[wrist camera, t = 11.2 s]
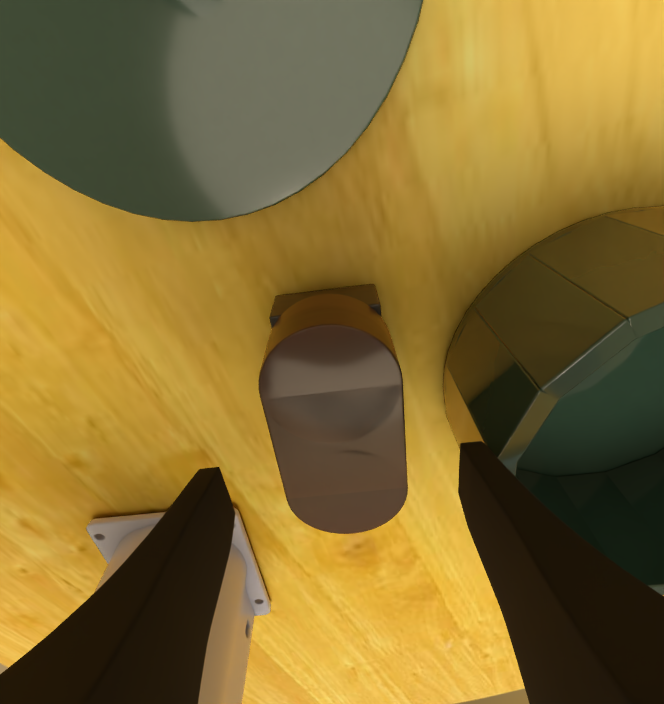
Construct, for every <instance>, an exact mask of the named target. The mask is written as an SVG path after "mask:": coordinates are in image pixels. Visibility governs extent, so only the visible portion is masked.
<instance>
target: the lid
mask: <svg viewBox="0 0 664 704" xmlns="http://www.w3.org/2000/svg"><path fill="white" fill-rule="evenodd" d="M422 4H423V0H0V138H1V139H2V140H3V141H4V142H6V143H7V144H8V145H9V146H10V147H11V148H12V149H13V150H15V151H16V152H17V153H19V154H20V155H21V156H23V157H24V158H26V159H27V160H28V161H30V162H31V163H32V164H34V165H35V166H36V167H38V168H39V169H41V170H42V171H43V172H45V173H46V174H48V175H50V176H51V177H53V178H55V179H56V180H58V181H60V182H62V183H63V184H65V185H67V186H68V187H70V188H72V189H73V190H75V191H77V192H79V193H82V194H84V195H86V196H88V197H90V198H93V199H95V200H97V201H99V202H101V203H103V204H106V205H109V206H112V207H115V208H118V209H121V210H124V211H127V212H130V213H133V214H137V215H142V216H147V217H152V218H157V219H162V220H173V221H187V222H199V221H215V220H224V219H229V218H233V217H238V216H243V215H248V214H251V213H254V212H256V211H259V210H262V209H265V208H268V207H270V206H273V205H276V204H277V203H279V202H281V201H283V200H285V199H287V198H289V197H291V196H293V195H295V194H296V193H298V192H300V191H302V190H303V189H304V188H306V187H307V186H308V185H310V184H311V183H313V182H314V181H315V180H317V179H318V178H320V177H321V176H322V175H324V174H325V173H326V172H327V171H328V170H329V169H330V168H331V167H332V166H333V165H334V164H335V163H337V162H338V161H339V160H340V159H341V158H342V157H343V156H344V155H345V154H346V153H347V152H348V151H349V149H350V148H351V147H352V146H353V145H354V143H355V142H356V141H357V140H358V138H359V137H360V136H361V135H362V134H363V132H364V131H365V130H366V129H367V127H368V126H369V124H370V123H371V121H372V120H373V118H374V117H375V115H376V113H377V112H378V110H379V109H380V107H381V105H382V104H383V102H384V101H385V99H386V98H387V96H388V94H389V92H390V90H391V88H392V85H393V83H394V81H395V79H396V77H397V75H398V73H399V71H400V69H401V67H402V65H403V63H404V60H405V58H406V55H407V52H408V49H409V46H410V43H411V41H412V38H413V35H414V32H415V29H416V27H417V24H418V21H419V17H420V13H421V8H422Z"/></svg>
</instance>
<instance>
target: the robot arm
mask: <svg viewBox="0 0 664 704" xmlns="http://www.w3.org/2000/svg"><path fill="white" fill-rule="evenodd" d="M458 493H459V496H460V500H461V504H462V508H463V511H464V515H465V518H466V522H467V525H468V528H469V531H470V533H471V536H472V538H473V541H474V543H475V546H476V548H477V551H478V553H479V556H480V558H481V561H482V563H483V566H484V568H485V571H486V573H487V576H488V578H489V581H490V583H491V586H492V588H493V591H494V593H495V596H496V598H497V600H498V603H499V606H500V608H501V611H502V614H503V617H504V620H505V623H506V626H507V629H508V632H509V636H510V639H511V642H512V645H513V649H514V652H515V655H516V659H517V662H518V665H519V669H520V672H521V676H522V679H523V683H524V686H525V689H526V693H527V696H528V700H529V703H530V704H664V596H662V595H661V594H659V593H658V592H657V591H655V590H654V589H652V588H651V587H649V586H648V585H646V584H645V583H643V582H642V581H640V580H639V579H637V578H636V577H634V576H633V575H631V574H630V573H628V572H627V571H625V570H624V569H623V568H621V567H620V566H619V565H617V564H616V563H615V562H613V561H612V560H610V559H609V558H608V557H606V556H605V555H604V554H602V553H601V552H600V551H599V550H597V549H596V548H595V547H593V546H592V545H591V544H590V543H588V542H587V541H586V540H584V539H583V538H582V537H581V536H580V535H578V534H577V533H576V532H575V531H574V530H572V529H571V528H570V527H569V526H568V525H566V524H565V523H564V522H563V521H562V520H561V519H560V518H558V517H557V516H556V515H555V514H554V513H553V512H552V511H551V510H549V509H548V508H547V507H546V506H545V505H544V504H543V503H542V502H541V501H540V500H539V499H538V498H537V497H536V496H535V495H534V494H533V493H532V492H530V491H529V490H528V489H527V488H526V487H525V486H524V485H523V484H522V483H521V482H520V481H519V480H518V479H517V478H516V477H515V476H514V475H513V474H512V473H511V471H510V470H509V469H508V468H507V467H506V466H505V465H504V464H503V463H502V462H501V461H500V460H499V459H498V458H497V457H496V455H495V454H494V453H493V452H492V451H491V450H490V449H489V448H488V447H487V445H486V444H485V443H483V442H482V441H476V442H466V443H460V463H459V488H458ZM86 529H87V532H88V533H89V535H90V536H91V538H92V540H93V541H94V543H95V544H96V546H97V547H98V549H99V550H100V552H101V554H102V555H103V557H104V558H105V560H106V561H107V563H108V566H107V568H106V570H105V572H104V574H103V576H102V578H101V580H100V582H99V584H98V586H97V588H96V590H95V592H94V594H93V595H92V596H91V597H90V598H89V599H88V600H87V601H86V602H84V603H83V604H82V605H81V606H80V607H79V608H78V609H77V610H76V611H75V612H73V613H72V614H71V615H70V616H69V617H68V618H67V619H66V620H65V621H64V622H62V623H61V624H60V625H59V626H58V627H57V628H56V629H55V630H54V631H53V632H51V633H50V634H49V635H48V636H47V637H46V638H44V639H43V640H42V641H41V642H40V643H38V644H37V645H36V646H35V647H34V648H33V649H31V650H30V651H29V652H28V653H26V654H25V655H24V656H23V657H22V658H20V659H19V660H18V661H17V662H15V663H14V664H13V665H12V666H10V667H9V668H8V669H7V670H5V671H4V672H3V673H2V674H0V704H242V698H243V691H244V684H245V677H246V670H247V663H248V657H249V650H250V643H251V636H252V629H253V622H254V616H257V615H266V614H268V613H269V612H270V610H271V603H270V600H269V597H268V594H267V592H266V589H265V586H264V583H263V580H262V577H261V574H260V571H259V569H258V566H257V563H256V560H255V557H254V554H253V551H252V548H251V546H250V543H249V540H248V537H247V534H246V531H245V528H244V525H243V523H242V520H241V517H240V514H239V511H238V510H237V509H236V508H234V507H233V504H232V502H231V499H230V496H229V493H228V490H227V488H226V485H225V482H224V479H223V476H222V474H221V471H220V468H219V467H215V468H205V469H199V470H198V471H197V473H196V474H195V475H194V477H193V478H192V479H191V480H190V482H189V483H188V484H187V486H186V487H185V488H184V490H183V491H182V492H181V493H180V495H179V496H178V497H177V499H176V500H175V501H174V503H173V504H172V505H171V506H170V508H169V509H168V510H167V512H160V513H149V514H139V515H129V516H118V517H108V518H97V519H92V520H91V521H90V522H89V524H88V525H87V528H86Z"/></svg>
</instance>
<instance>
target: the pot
mask: <svg viewBox="0 0 664 704" xmlns="http://www.w3.org/2000/svg"><path fill="white" fill-rule="evenodd" d="M443 391H444V401H445V405H446V416H447V419H448V421H449V424H450V426H451V429H452V431H453V434H454V436H455V439H456V441H457V443H458V446H459V448H460V443H466V442H476V441H482V442H483V443H485V444H486V445H487V447H488V448H489V449H490V450H491V451H492V452H493V453H494V454H495V455H496V457H497V458H498V459H499V460H500V461H501V462H502V463H503V464H504V465H505V466H506V467H507V468H508V469H509V470H510V471H511V473H512V474H513V475H514V476H515V477H516V478H517V479H518V480H519V481H520V482H521V483H522V484H523V485H524V486H525V487H526V488H527V489H528V490H529V491H530V492H532V493H533V494H534V495H535V496H536V497H537V498H538V499H539V500H540V501H541V502H542V503H543V504H544V505H545V506H546V507H547V508H548V509H549V510H551V511H552V512H553V513H554V514H555V515H556V516H557V517H558V518H560V519H561V520H562V521H563V522H564V523H565V524H566V525H568V526H569V527H570V528H571V529H572V530H574V531H575V532H576V533H577V534H578V535H580V536H581V537H582V538H583V539H584V540H586V541H587V542H588V543H590V544H591V545H592V546H593V547H595V548H596V549H597V550H599V551H600V552H601V553H602V554H604V555H605V556H606V557H608V558H609V559H610V560H612V561H613V562H615V563H616V564H617V565H619V566H620V567H621V568H623V569H624V570H625V571H627V572H628V573H630V574H631V575H633V576H634V577H636V578H637V579H639V580H640V581H642V582H643V583H645V584H646V585H648V586H649V587H651V588H652V589H654V590H655V591H657V592H658V593H659V594H661V595H664V207H662V206H655V207H639V208H630V209H625V210H620V211H614V212H609V213H606V214H602V215H599V216H596V217H593V218H590V219H587V220H583V221H581V222H579V223H576V224H574V225H572V226H570V227H567V228H565V229H563V230H560V231H558V232H556V233H555V234H553V235H551V236H549V237H548V238H546V239H544V240H542V241H541V242H539V243H537V244H535V245H534V246H532V247H531V248H530V249H528V250H527V251H526V252H524V253H523V254H521V255H520V256H519V257H517V258H516V259H514V260H513V261H512V262H511V263H510V264H509V265H508V266H506V267H505V268H504V269H503V270H502V271H501V272H500V273H499V274H498V275H496V276H495V277H494V278H493V280H492V281H491V282H490V283H489V284H488V285H487V286H486V287H485V288H484V290H483V291H482V292H481V293H480V294H479V295H478V297H477V298H476V299H475V301H474V302H473V304H472V305H471V306H470V308H469V309H468V311H467V312H466V314H465V315H464V317H463V319H462V321H461V323H460V325H459V326H458V328H457V330H456V332H455V335H454V337H453V340H452V342H451V345H450V347H449V351H448V355H447V359H446V363H445V367H444V378H443Z"/></svg>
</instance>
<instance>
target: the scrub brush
mask: <svg viewBox="0 0 664 704" xmlns="http://www.w3.org/2000/svg"><path fill="white" fill-rule="evenodd" d="M269 319H270V323H271V328H272V330H271V333H270V337H269V340H268V344H267V348H266V352H265V355H264V359H263V363H262V367H261V370H260V375H259V393H260V398H261V401H262V405H263V409H264V413H265V417H266V421H267V425H268V429H269V432H270V436H271V440H272V444H273V448H274V452H275V456H276V460H277V463H278V467H279V471H280V475H281V479H282V483H283V487H284V491H285V494H286V498H287V501H288V504H289V506H290V508H291V510H292V511H293V512H294V514H295V515H296V516H297V517H298V518H299V519H300V520H302V521H303V522H304V523H306V524H308V525H310V526H312V527H314V528H316V529H319V530H322V531H326V532H331V533H339V534H350V533H359V532H364V531H368V530H371V529H374V528H377V527H379V526H381V525H383V524H385V523H386V522H388V521H389V520H391V519H392V518H393V517H394V516H395V515H396V514H397V513H398V512H399V511H400V510H401V508H402V506H403V505H404V503H405V500H406V497H407V491H408V483H407V462H406V441H405V420H404V399H403V380H402V373H401V369H400V366H399V362H398V359H397V356H396V352H395V349H394V346H393V342H392V339H391V335H390V332H389V330H388V327H387V325H386V323H385V322H384V320H383V319H382V317H381V306H380V302H379V298H378V295H377V291H376V288H375V285H374V284H368V285H360V286H352V287H344V288H335V289H327V290H319V291H311V292H303V293H294V294H286V295H278V296H276V297H275V300H274V304H273V307H272V310H271V314H270V317H269Z"/></svg>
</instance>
